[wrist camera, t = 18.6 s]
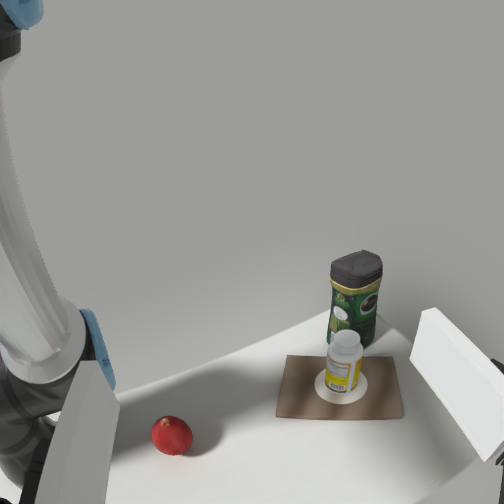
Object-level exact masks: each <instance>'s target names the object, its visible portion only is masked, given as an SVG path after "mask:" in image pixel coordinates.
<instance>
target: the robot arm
mask: <svg viewBox="0 0 504 504" xmlns="http://www.w3.org/2000/svg"><path fill="white" fill-rule="evenodd" d="M42 16H43V0H0V467H1V469H2V471H3V472H4V474H5V475H6V476H7V478H8V479H9V480H11V481H12V482H13V483H14V484H15V485H16V486H18V487H19V488H21V489H22V493H21V497H20V501H19V504H105V499H106V491H107V484H108V477H109V470H110V463H111V457H112V451H113V445H114V439H115V434H116V428H117V423H118V418H119V413H120V408H121V406H120V404H119V403H118V401H117V399H116V397H115V395H114V393H113V390H114V389H115V384H116V382H115V377H114V373H113V369H112V366H111V363H110V360H109V359H108V354H107V350H106V346H105V343H104V340H103V337H102V334H101V331H100V328H99V326H98V323H97V320H96V317H95V315H94V313H93V312H92V311H91V310H90V309H77V307H76V306H75V305H74V304H73V303H72V302H71V301H69V300H68V299H66V298H64V297H62V296H59V295H58V294H57V291H56V289H55V287H54V285H53V283H52V280H51V278H50V275H49V273H48V270H47V268H46V266H45V263H44V261H43V258H42V255H41V253H40V250H39V247H38V245H37V242H36V239H35V236H34V234H33V231H32V228H31V225H30V222H29V219H28V216H27V212H26V210H25V206H24V202H23V199H22V195H21V192H20V188H19V184H18V180H17V177H16V173H15V168H14V164H13V159H12V155H11V150H10V145H9V140H8V134H7V129H6V122H5V115H4V108H3V100H2V91H1V88H2V82H3V80H4V79H5V77H6V76H7V74H8V73H9V71H10V70H11V68H12V67H13V65H14V64H15V62H16V61H17V60H18V58H19V57H20V55H21V53H20V52H21V51H20V49H21V47H20V45H21V30H22V29H25V30H29V28H30V27H32V26H34V25H36V24H37V23H39V22H40V20H41V19H42ZM410 361H411V362H412V363H413V365H414V366H415V367H416V369H417V370H418V371H419V372H420V374H421V375H422V376H423V378H424V379H425V380H426V382H427V383H428V384H429V386H430V387H431V388H432V390H433V391H434V392H435V394H436V395H437V396H438V398H439V399H440V400H441V402H442V403H443V404H444V406H445V407H446V409H447V410H448V411H449V413H450V414H451V415H452V417H453V418H454V420H455V421H456V422H457V424H458V425H459V427H460V428H461V430H462V431H463V432H464V434H465V435H466V437H467V438H468V440H469V441H470V442H471V444H472V445H473V447H474V448H475V450H476V451H477V453H478V454H479V456H480V457H481V458H482V460H483V461H484V462H486V461H488V460H489V459H490V458H492V457H493V456H494V455H496V454H497V453H498V452H499V451H500V450H501V448H502V447H503V446H504V365H503V364H502V363H500V362H498V361H496V360H495V359H491V360H489V359H488V358H487V357H486V356H485V355H484V354H483V353H482V352H481V351H480V350H479V349H478V348H477V347H476V346H475V345H474V344H473V343H472V342H471V341H470V340H469V339H468V338H467V337H466V336H465V335H464V334H463V333H462V332H461V331H460V330H459V329H458V328H457V327H456V326H455V325H454V324H453V323H452V322H450V321H449V320H448V319H447V318H446V317H445V316H444V315H443V314H442V313H441V312H440V311H439V310H438V309H436V308H432V309H428V310H425V311H422V314H421V319H420V323H419V327H418V330H417V335H416V338H415V342H414V345H413V349H412V352H411V356H410ZM59 411H61V414H60V416H59V419H58V422H57V423H56V422H55V421H53V420H52V419H50V418H49V417H47V416H46V415H50V414H53V413H56V412H59ZM503 458H504V452H503V453H502V454H501V455H500V457H499V458H498V459H497V460H496V465H498V464H499V463H500V462H501V460H503ZM501 465H503V475H502V484H501V491H500V498H499V504H504V460H503V461H502V463H501ZM0 504H12V503H10V502H9V501H8V500H7V499H4V498H0Z"/></svg>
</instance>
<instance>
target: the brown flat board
mask: <svg viewBox="0 0 504 504" xmlns="http://www.w3.org/2000/svg"><path fill="white" fill-rule="evenodd" d="M326 364H327V357H320V356H294V355H287V358H286V364H285V369H284V374H283V379H282V385H281V390H280V395H279V400H278V404H277V409H276V417H280V418H294V419H312V420H382V419H400V418H402V417H403V410H402V403H401V397H400V391H399V386H398V380H397V375H396V370H395V365H394V360H393V357H362V363H361V368H360V373H359V378H358V383H357V386H356V388H355V389H354V390H353V391H351V392H350V393H347V394H336V393H333V392H331V391H330V390H328V388H327V387H326V385H325V374H326Z"/></svg>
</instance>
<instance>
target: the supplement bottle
mask: <svg viewBox="0 0 504 504" xmlns="http://www.w3.org/2000/svg"><path fill="white" fill-rule="evenodd" d="M362 357H363V346H362V345H361V343H360V336H359V334H358V333H357V332H355V331H353V330H341V331H338V332H337V333H336V334H335V336H334V340H333V341H332V342H331V343H330V345H329V347H328V352H327V364H326V374H325V385H326V387H327V388H328V390H330V391H331V392H333V393H336V394H347V393H350V392H351V391H353V390H354V389H355V388H356V386H357V383H358V378H359V373H360V368H361V363H362Z"/></svg>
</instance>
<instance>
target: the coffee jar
mask: <svg viewBox="0 0 504 504" xmlns="http://www.w3.org/2000/svg"><path fill="white" fill-rule="evenodd" d="M382 267H383V265H382V261H381V259H380V257H379V256H378V255H376V254H374V253H371V252H369V251H366V250H362V251H359V252H355V253H352V254H349V255H347V256H344V257H342V258H339V259H337V260H335V261H333V262H332V264H331V273H330V282H331V285H332V293H333V294H332V304H331V312H330V319H329V325H328V331H327V342H328V344H329V345H330V343H331V342H332V341H333V340H334V336H335V334H336V333H337V332H338V331H341V330H353V331H355V332H357V333H358V334H359V336H360V343H361V345H362V346H363V348H364V347H366V346H367V345H368V344H369V343H370V342H371V341H372V340H373V339H374V334H375V323H376V310H377V299H378V291H379V286H380V283H381V279H382V274H383V273H382V270H383V269H382Z"/></svg>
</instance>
